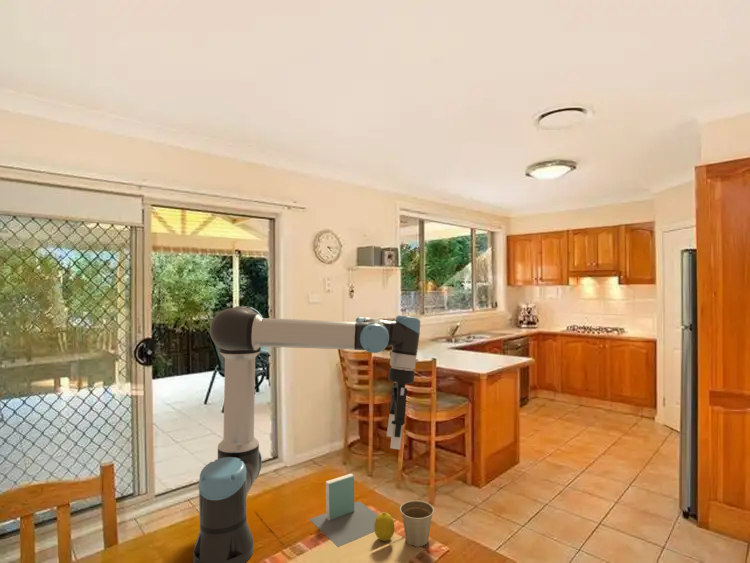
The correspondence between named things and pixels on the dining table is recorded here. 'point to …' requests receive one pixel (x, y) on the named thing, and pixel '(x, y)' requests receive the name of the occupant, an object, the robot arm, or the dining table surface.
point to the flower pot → (417, 521)
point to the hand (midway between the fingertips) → (393, 442)
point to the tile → (339, 496)
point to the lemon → (384, 526)
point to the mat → (347, 525)
